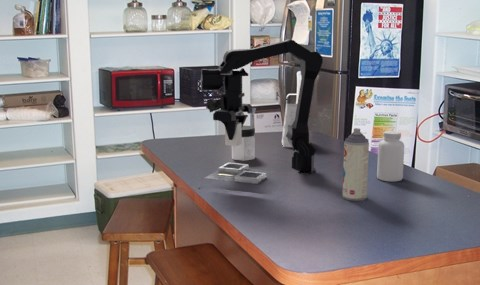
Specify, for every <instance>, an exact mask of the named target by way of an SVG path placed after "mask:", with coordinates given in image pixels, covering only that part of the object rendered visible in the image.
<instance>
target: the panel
mask: <svg viewBox="0 0 480 285" xmlns="http://www.w3.org/2000/svg"><path fill="white" fill-rule="evenodd" d="M275 173H277V172H276V171H274V170H265V169H255V168H250V166H249V164H246V163H238V162H237V163H235V162H226V163H225V164H223V165H221V166H218V170H216V171H214V172H212V173H211V174H208V175H207V176H205V177H204V180H205V179H206V180H216V181H223V182H224V181H225V182H234V183H235V182H236V183H244V184H252V185H260V184H261V183H262V182H264V181H265V180H266V179H268V178H269V177H270V176H271V175H273V174H275Z"/></svg>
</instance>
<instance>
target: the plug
mask: <svg viewBox="0 0 480 285" xmlns="http://www.w3.org/2000/svg"><path fill="white" fill-rule="evenodd" d="M224 139H225V140H224V142H225V143H224V144H225V146H229V147H232V146H238V145H240V144H242V128H241V123H239V122H238V124H237V127H236V131H235V134H234V137H233V140H229V138H228V134H227V131H226V128H225V127H224Z"/></svg>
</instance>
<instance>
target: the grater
mask: <svg viewBox="0 0 480 285" xmlns="http://www.w3.org/2000/svg"><path fill="white" fill-rule="evenodd" d="M289 96H299V93H288V94H287V95H286V98H288V97H289ZM285 102H286V104H285V110H284V118H283V119H284V120H283V127H282V134H281V145H283V146H282V148H293V147H292V146H291V145H290V144H289V143H288V138H287V137H286V135H287V132H288V125H291V126H292V124H293V123H294V121H295V116H296V109H297V103H288V101H285ZM309 143H310V141H309ZM310 144H311V143H310Z"/></svg>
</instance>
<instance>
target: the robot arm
mask: <svg viewBox="0 0 480 285" xmlns="http://www.w3.org/2000/svg"><path fill="white" fill-rule="evenodd" d="M287 53H289V54H290V55H292V56H293V57H295V58H296V59H298V61H299V63H300V64H299V68H300V78H301V79H300V86H299V91H298V94H299V95H298V97H297V102H296V104H297V109H296V116H295V121H294V123H293V124H292V126H291V125H288V132H287V135H286V137H287V138H288V143H289V144H290V145H291V146H292V147H291V148H293V150H294V152H293V154H292V155H293V156H292V157H291V168H292V169H296V170H299V171H298V172H297V173H298V174H306V175H308V174H309V175H311V174H312V173H313V172H314V171H316V167H315V153H316V152H317V148H315V147H314V146H313V144H311V143H309V142H310V130H309V118H310V113H311V112H310V111H311V107H312V99H313V95H314V87H315V82H316V79H317V77H318V76H319V74H320V72H321V68H322V67H323V66H322V65H323V62H324V61H323V56H322V54H321V53H320V52H317V51H314V50H311V49H307V48H306V47H304V46H302V45H300V44H299V43H298V42H297V41H295V40H294V39H290V38H288V39H285V40H281V41H278V42H275V43H274V42H273V43H270V44H265V45H263V46H258V47H257V46H256V47H254V48H239V49H237V48H236V49H230V50H227V51H225V53H224V54H223V57H222V59H223V60H222V62H221V63H220V64H219V66H218V68H217V69H207V68H202V69H201V70H200V72H201V73H200V74H201V75H200V81H199V82H200V91H201V92H210V91H212V92H213V91H215V92H216V91H220V89H222V88H223V89H224V90H223V91H224V92H223V93H222V94H221V96H220V98H219V99H214V98H213V97H212V98H210V99H207V100H206V106H205V108H206V109H208V111H209V113H212V112H213V114H212V115H213V116H212V120H213V121H218V122H220V123H222V124H223V125H224V129H225V128H226V131H227V134H228V138H229V140H233V137H234V134H235V131H236V127H237V124H238V122H239V123H241V128H242V127H243V126H244V124H245V122H246V120H247V118H248V117H249V115H250V114H253V106H252V105H251V104H250V103H243V98H244V97H245V92H243V77H249V73H248V72H247V71H246V70H245V68H244V67H245V66H248V65H250V64H251V63H254V62H256V61H259V60H263V59H268V58H271V57H275V56H280V55H283V54H287ZM238 69H240V70H238ZM229 72H230V73H229ZM223 78H224V79H223ZM245 113H247V114H245ZM248 114H249V115H248Z"/></svg>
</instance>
